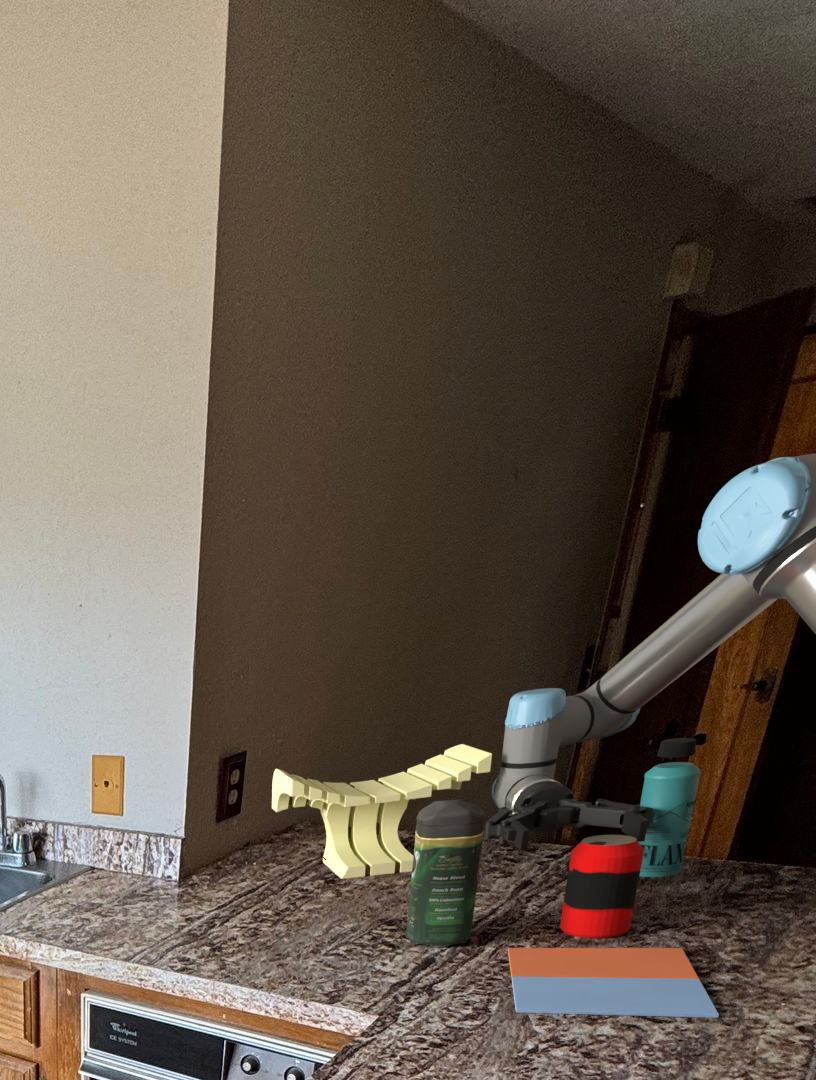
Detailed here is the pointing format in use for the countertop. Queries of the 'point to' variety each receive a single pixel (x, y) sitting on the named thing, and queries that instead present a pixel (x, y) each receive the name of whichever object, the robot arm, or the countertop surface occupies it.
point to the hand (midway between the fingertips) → (583, 836)
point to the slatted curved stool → (374, 809)
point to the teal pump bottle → (669, 808)
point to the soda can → (601, 886)
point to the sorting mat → (608, 982)
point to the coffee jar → (445, 873)
